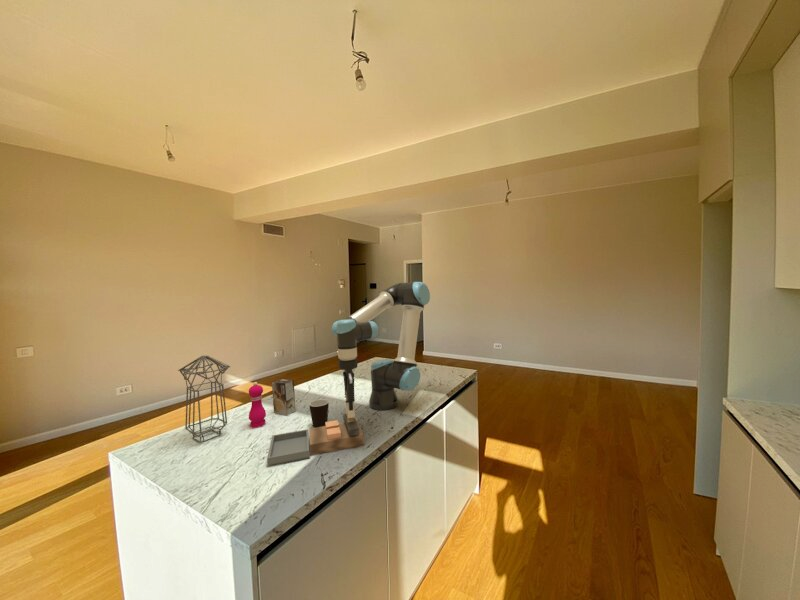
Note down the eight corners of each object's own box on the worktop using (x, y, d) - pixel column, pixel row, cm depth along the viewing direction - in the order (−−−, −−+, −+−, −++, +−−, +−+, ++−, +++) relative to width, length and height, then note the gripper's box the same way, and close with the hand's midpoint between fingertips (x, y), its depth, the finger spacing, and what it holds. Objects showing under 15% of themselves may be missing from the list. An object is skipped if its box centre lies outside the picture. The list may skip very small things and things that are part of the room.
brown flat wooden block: (357, 429, 131) (357, 420, 131) (364, 444, 118) (363, 434, 118) (309, 438, 125) (309, 428, 125) (310, 455, 112) (309, 444, 112)
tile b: (339, 432, 121) (339, 427, 121) (341, 437, 116) (340, 432, 116) (326, 434, 120) (326, 429, 120) (327, 440, 115) (327, 435, 115)
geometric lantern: (179, 439, 130) (175, 357, 130) (219, 426, 142) (216, 351, 142) (193, 449, 120) (189, 360, 120) (235, 434, 133) (231, 353, 133)
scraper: (352, 418, 132) (351, 385, 131) (359, 434, 116) (357, 397, 116) (343, 419, 130) (341, 386, 130) (348, 436, 115) (347, 398, 115)
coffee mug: (324, 429, 133) (323, 406, 133) (306, 428, 135) (305, 406, 134) (335, 418, 144) (334, 397, 144) (318, 417, 146) (317, 396, 146)
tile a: (337, 424, 128) (337, 420, 128) (339, 429, 123) (338, 425, 123) (325, 426, 126) (325, 422, 126) (326, 432, 122) (326, 427, 122)
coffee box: (296, 410, 156) (294, 379, 155) (287, 415, 150) (285, 383, 149) (282, 408, 159) (280, 378, 159) (273, 413, 153) (271, 382, 153)
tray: (308, 436, 127) (308, 429, 127) (309, 458, 110) (309, 450, 110) (272, 442, 123) (272, 435, 123) (267, 466, 106) (267, 458, 106)
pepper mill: (269, 422, 143) (267, 380, 142) (258, 429, 136) (255, 384, 135) (257, 420, 145) (255, 379, 145) (245, 427, 138) (242, 384, 138)
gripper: (336, 355, 129) (338, 410, 130) (340, 363, 114) (343, 425, 115) (353, 353, 131) (356, 407, 132) (360, 361, 116) (363, 422, 117)
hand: (350, 415), depth 123 cm, fingers closed on scraper, 2 cm apart
